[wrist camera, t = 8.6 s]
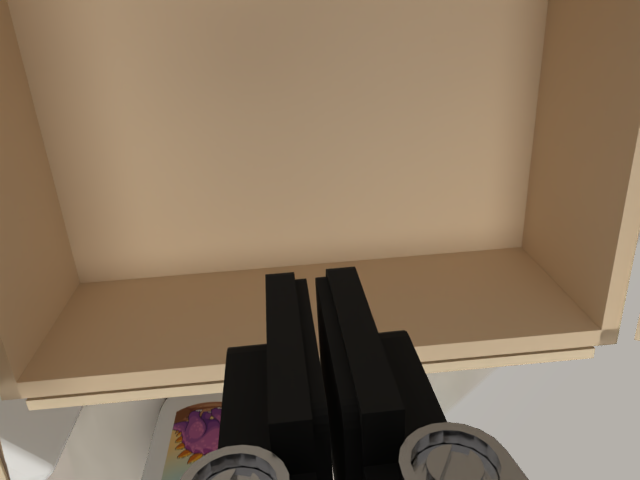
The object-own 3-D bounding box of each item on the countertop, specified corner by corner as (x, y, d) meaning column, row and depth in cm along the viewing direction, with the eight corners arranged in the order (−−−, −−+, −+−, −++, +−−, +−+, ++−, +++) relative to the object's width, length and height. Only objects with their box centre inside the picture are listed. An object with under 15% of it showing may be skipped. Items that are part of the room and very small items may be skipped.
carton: (573, -130, 25) (723, -187, 17) (527, 266, 33) (613, 359, 25) (-34, -102, 23) (-197, -149, 15) (75, 304, 32) (7, 415, 23)
